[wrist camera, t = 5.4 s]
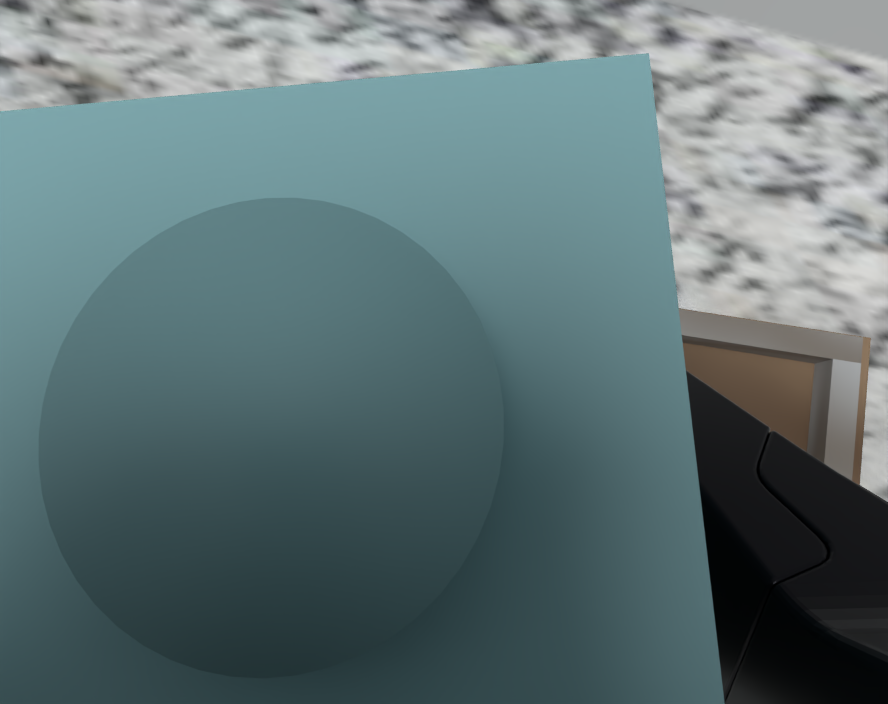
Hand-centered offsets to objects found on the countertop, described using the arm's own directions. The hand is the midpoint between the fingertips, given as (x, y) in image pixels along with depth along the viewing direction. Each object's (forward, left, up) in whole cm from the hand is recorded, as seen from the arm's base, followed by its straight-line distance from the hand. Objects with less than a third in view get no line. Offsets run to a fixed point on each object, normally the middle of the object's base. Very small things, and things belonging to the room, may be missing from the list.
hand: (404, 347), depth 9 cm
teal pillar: (-1, +1, -7) cm, 7 cm away
